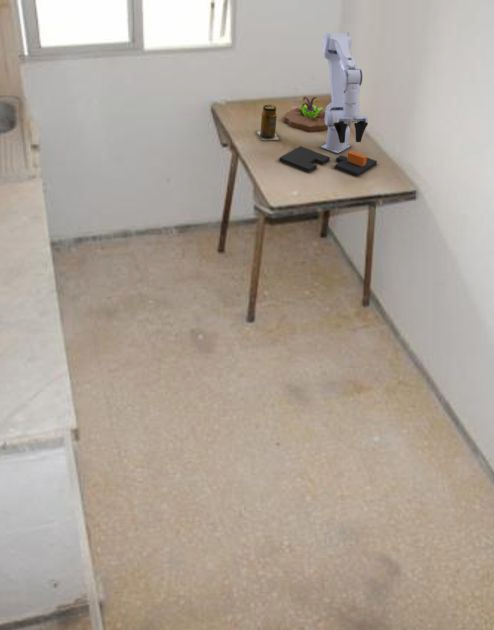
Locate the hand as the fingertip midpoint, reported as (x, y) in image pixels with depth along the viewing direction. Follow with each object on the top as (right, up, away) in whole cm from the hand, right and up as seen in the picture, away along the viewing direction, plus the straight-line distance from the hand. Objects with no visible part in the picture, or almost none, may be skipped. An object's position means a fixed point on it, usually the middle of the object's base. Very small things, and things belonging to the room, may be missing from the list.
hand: (350, 142), depth 267 cm
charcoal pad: (+2, -6, +10) cm, 12 cm away
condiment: (-30, +9, +27) cm, 41 cm away
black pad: (-16, -4, +11) cm, 20 cm away
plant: (-11, +18, +41) cm, 46 cm away
